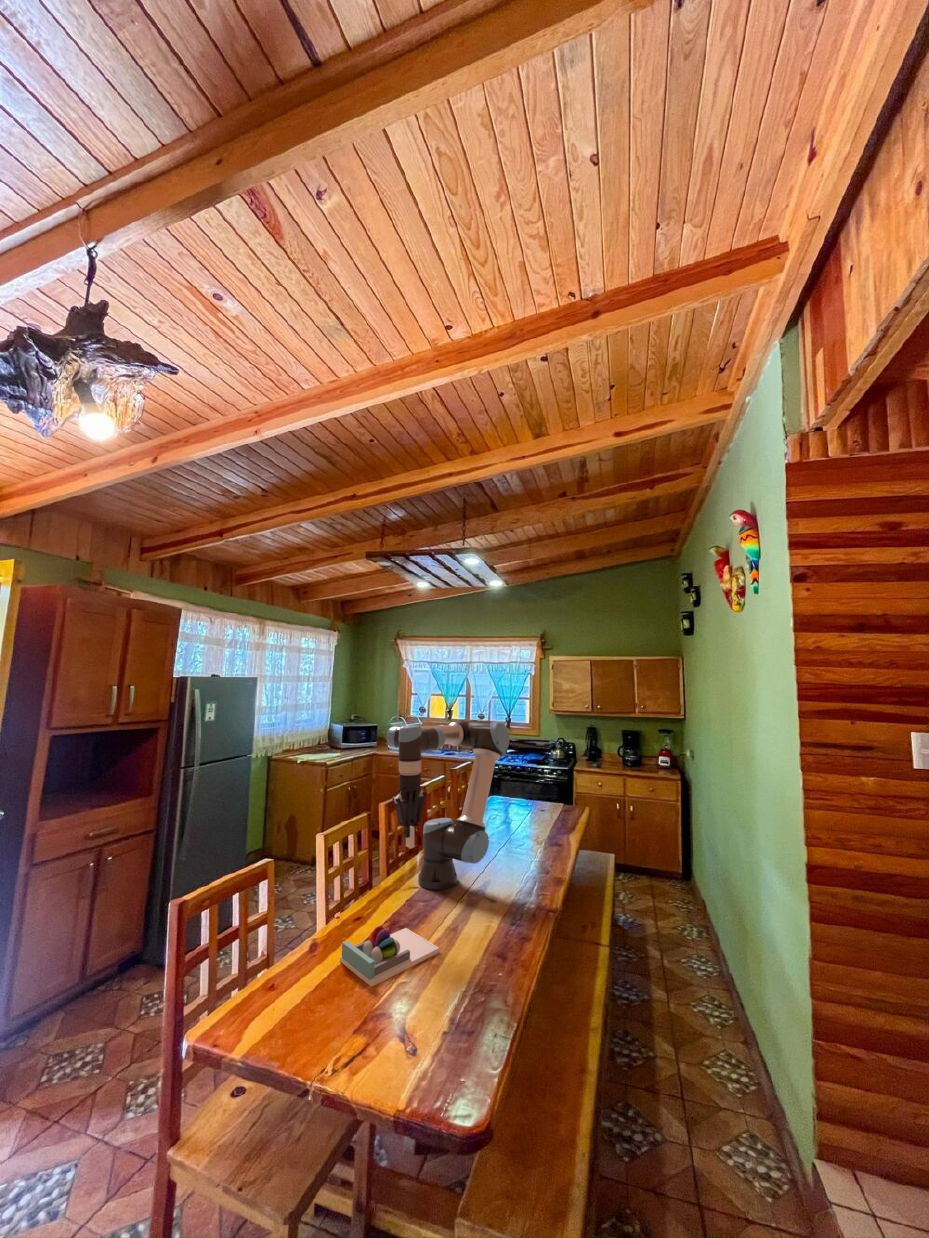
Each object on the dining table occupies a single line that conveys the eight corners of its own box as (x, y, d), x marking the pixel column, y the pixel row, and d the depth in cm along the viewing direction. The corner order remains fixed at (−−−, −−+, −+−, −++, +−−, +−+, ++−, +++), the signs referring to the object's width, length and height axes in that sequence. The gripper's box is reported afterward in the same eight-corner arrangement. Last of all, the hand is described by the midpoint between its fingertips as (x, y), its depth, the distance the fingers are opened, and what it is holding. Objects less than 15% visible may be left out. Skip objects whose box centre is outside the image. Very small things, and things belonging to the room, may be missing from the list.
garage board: (405, 931, 151) (406, 914, 152) (439, 952, 140) (439, 932, 141) (339, 960, 136) (340, 941, 136) (371, 986, 124) (371, 964, 125)
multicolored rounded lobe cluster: (384, 943, 142) (385, 917, 143) (404, 957, 135) (404, 929, 136) (359, 954, 137) (359, 926, 138) (378, 969, 130) (378, 940, 131)
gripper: (418, 768, 169) (418, 839, 167) (387, 774, 160) (387, 849, 157) (432, 771, 164) (432, 844, 161) (401, 777, 155) (401, 855, 152)
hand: (410, 846), depth 159 cm, fingers closed
